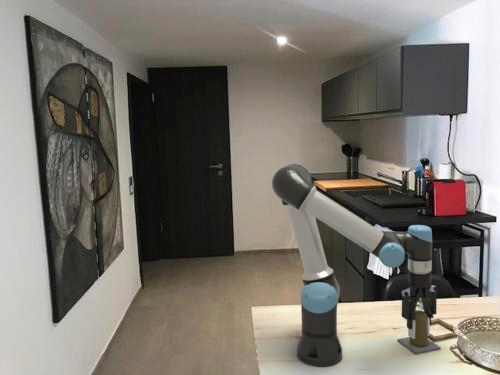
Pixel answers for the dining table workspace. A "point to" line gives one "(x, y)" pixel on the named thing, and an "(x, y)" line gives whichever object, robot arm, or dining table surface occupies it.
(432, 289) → the robot arm
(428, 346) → the slate pad
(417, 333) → the cork
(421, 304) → the colourful toy
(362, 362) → the dining table surface
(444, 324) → the wooden square frame
